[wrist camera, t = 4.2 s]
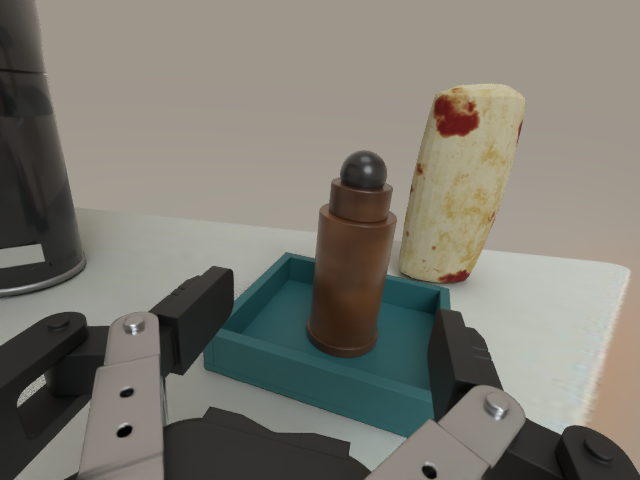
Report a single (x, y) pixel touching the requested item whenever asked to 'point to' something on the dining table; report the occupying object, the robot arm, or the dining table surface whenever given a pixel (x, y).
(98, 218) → the dining table surface
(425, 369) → the tray
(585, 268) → the dining table surface
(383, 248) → the pepper mill
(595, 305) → the dining table surface
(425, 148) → the food model
